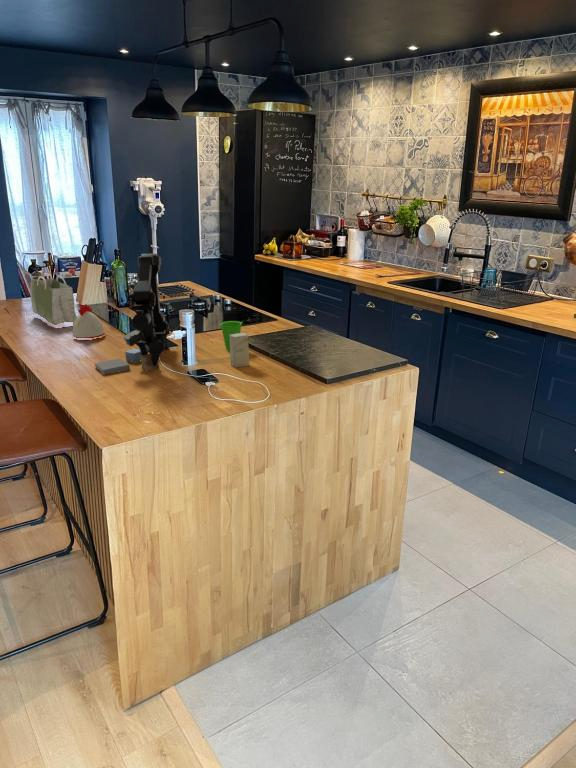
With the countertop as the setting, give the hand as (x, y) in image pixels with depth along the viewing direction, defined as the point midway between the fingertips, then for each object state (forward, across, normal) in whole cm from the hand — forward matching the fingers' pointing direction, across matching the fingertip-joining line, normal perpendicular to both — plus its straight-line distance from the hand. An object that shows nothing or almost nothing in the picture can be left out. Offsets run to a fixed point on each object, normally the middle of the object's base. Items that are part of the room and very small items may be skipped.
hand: (149, 362), depth 221 cm
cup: (+2, -2, +37) cm, 37 cm away
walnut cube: (+2, 0, 0) cm, 2 cm away
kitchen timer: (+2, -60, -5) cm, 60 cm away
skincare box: (+2, +18, +29) cm, 34 cm away
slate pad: (+2, -8, -12) cm, 15 cm away
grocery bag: (+2, -100, -9) cm, 100 cm away
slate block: (+2, -13, -1) cm, 13 cm away
